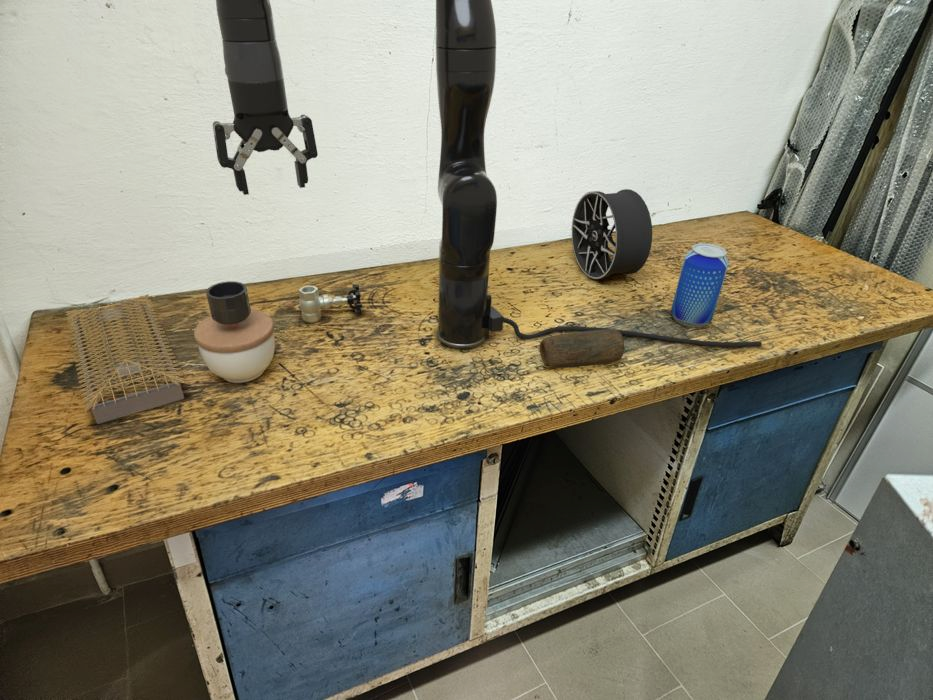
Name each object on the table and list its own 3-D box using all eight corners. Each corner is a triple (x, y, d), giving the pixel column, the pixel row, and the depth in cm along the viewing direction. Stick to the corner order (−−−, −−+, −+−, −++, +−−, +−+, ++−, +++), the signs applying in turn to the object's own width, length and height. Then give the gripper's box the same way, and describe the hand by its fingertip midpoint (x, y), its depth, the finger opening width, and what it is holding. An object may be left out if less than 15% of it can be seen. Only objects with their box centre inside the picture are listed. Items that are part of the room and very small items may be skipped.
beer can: (712, 315, 127) (733, 246, 119) (708, 333, 121) (730, 261, 112) (672, 306, 130) (690, 238, 121) (666, 323, 124) (684, 252, 115)
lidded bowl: (188, 381, 101) (173, 325, 95) (238, 345, 111) (227, 293, 105) (248, 400, 97) (236, 343, 91) (294, 361, 107) (287, 308, 101)
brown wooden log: (606, 348, 114) (612, 318, 111) (623, 368, 109) (630, 338, 105) (534, 357, 111) (537, 327, 107) (548, 378, 105) (552, 347, 101)
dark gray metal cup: (247, 305, 101) (242, 278, 98) (254, 321, 97) (249, 294, 94) (210, 311, 99) (203, 285, 96) (214, 328, 94) (208, 301, 92)
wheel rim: (567, 258, 150) (577, 180, 139) (598, 254, 153) (611, 177, 142) (608, 293, 134) (624, 208, 123) (642, 288, 137) (660, 205, 126)
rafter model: (191, 399, 96) (183, 368, 93) (91, 429, 90) (78, 397, 86) (152, 309, 121) (144, 282, 117) (71, 327, 114) (60, 299, 110)
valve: (302, 327, 117) (363, 320, 120) (298, 298, 113) (360, 291, 116) (300, 311, 122) (358, 305, 125) (296, 283, 119) (356, 277, 122)
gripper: (204, 83, 77) (230, 203, 86) (312, 77, 82) (326, 190, 91) (198, 74, 82) (222, 188, 91) (299, 69, 88) (313, 177, 97)
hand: (274, 189), depth 91 cm, fingers open, 8 cm apart
